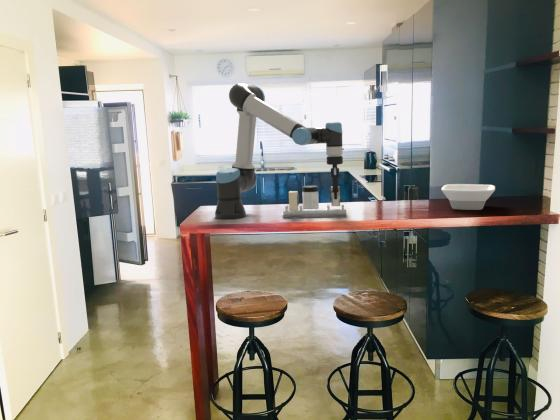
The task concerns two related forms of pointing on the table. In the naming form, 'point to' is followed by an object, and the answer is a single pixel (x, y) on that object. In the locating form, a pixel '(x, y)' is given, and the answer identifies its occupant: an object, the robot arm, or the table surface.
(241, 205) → the robot arm
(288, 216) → the rail
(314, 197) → the jar
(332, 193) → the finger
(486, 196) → the bowl
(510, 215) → the table surface
